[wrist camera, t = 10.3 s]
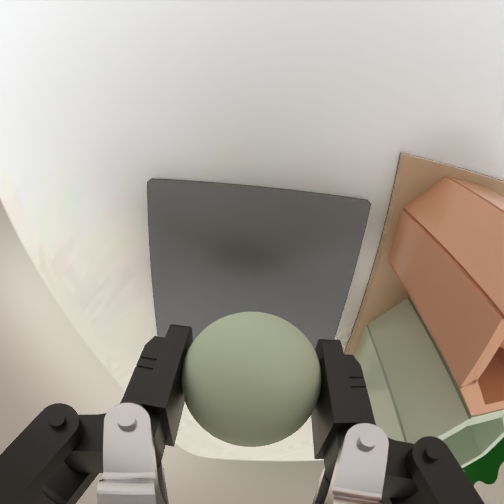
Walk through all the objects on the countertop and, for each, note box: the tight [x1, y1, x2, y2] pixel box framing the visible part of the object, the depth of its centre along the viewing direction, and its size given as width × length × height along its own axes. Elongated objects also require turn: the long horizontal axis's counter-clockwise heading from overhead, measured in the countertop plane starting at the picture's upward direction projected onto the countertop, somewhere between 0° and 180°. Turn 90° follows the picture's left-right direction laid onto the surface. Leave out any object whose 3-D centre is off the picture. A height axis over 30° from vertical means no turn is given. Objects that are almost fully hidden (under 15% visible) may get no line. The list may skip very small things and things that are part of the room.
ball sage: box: [181, 312, 322, 447], centre depth 10 cm, size 4×4×4 cm
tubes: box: [344, 153, 504, 468], centre depth 14 cm, size 8×16×10 cm, turn 175°
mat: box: [147, 179, 371, 350], centre depth 19 cm, size 11×14×1 cm
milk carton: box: [462, 437, 504, 504], centre depth 15 cm, size 9×9×20 cm
